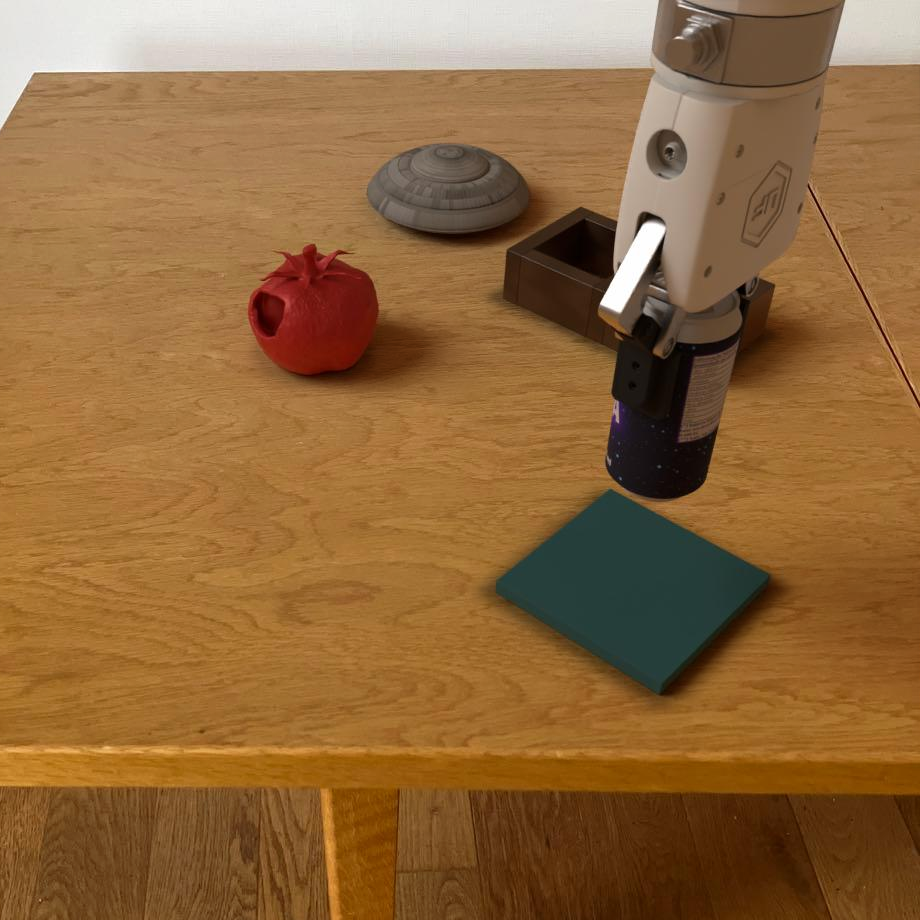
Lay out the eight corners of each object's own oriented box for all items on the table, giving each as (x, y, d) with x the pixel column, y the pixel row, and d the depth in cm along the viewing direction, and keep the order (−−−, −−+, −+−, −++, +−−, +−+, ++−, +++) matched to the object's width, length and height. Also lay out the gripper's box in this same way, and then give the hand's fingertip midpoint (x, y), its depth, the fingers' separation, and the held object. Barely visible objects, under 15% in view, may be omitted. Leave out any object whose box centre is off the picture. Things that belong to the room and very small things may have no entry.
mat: (768, 586, 74) (771, 574, 73) (659, 695, 68) (662, 683, 67) (608, 499, 80) (610, 488, 79) (494, 592, 74) (495, 580, 73)
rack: (763, 334, 95) (776, 284, 92) (695, 387, 90) (706, 336, 87) (574, 253, 104) (580, 206, 101) (502, 298, 99) (506, 249, 96)
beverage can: (683, 442, 70) (722, 260, 62) (719, 505, 66) (766, 318, 58) (590, 453, 70) (617, 270, 62) (621, 516, 66) (655, 329, 57)
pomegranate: (382, 318, 97) (383, 212, 90) (374, 390, 89) (374, 280, 83) (261, 313, 97) (252, 208, 91) (242, 385, 90) (232, 275, 84)
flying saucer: (338, 192, 113) (336, 136, 109) (472, 157, 118) (475, 103, 114) (420, 262, 103) (421, 204, 99) (561, 221, 109) (568, 163, 105)
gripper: (711, 118, 45) (640, 489, 57) (917, 1, 54) (817, 342, 66) (551, 65, 48) (516, 423, 61) (768, -36, 58) (700, 293, 70)
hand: (674, 378), depth 63 cm, fingers closed on beverage can, 5 cm apart
